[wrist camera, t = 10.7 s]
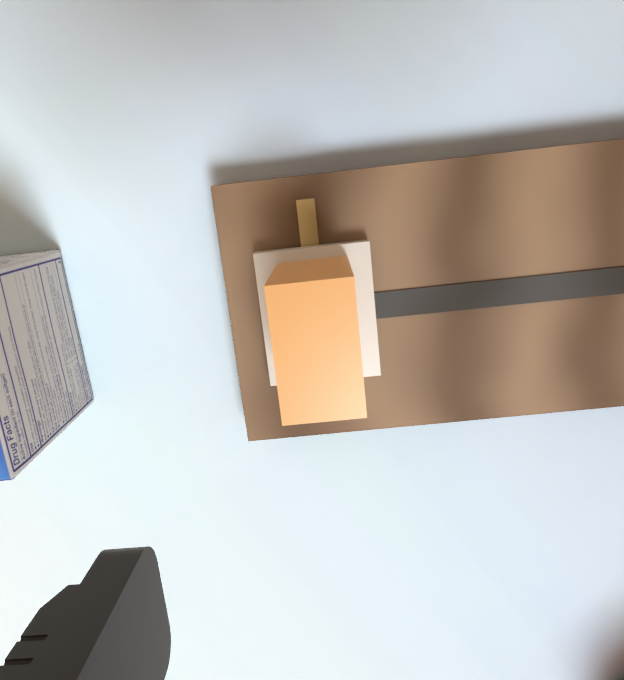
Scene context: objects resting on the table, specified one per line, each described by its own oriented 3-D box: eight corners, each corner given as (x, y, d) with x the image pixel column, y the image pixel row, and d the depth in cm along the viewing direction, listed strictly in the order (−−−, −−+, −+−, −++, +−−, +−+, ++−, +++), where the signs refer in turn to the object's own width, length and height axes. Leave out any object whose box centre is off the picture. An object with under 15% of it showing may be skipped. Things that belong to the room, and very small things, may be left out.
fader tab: (368, 239, 26) (383, 258, 19) (379, 370, 27) (396, 428, 21) (255, 251, 26) (231, 274, 20) (272, 380, 28) (255, 441, 21)
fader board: (703, 130, 27) (734, 126, 25) (689, 383, 30) (716, 397, 28) (218, 185, 28) (210, 185, 26) (253, 424, 31) (248, 442, 29)
